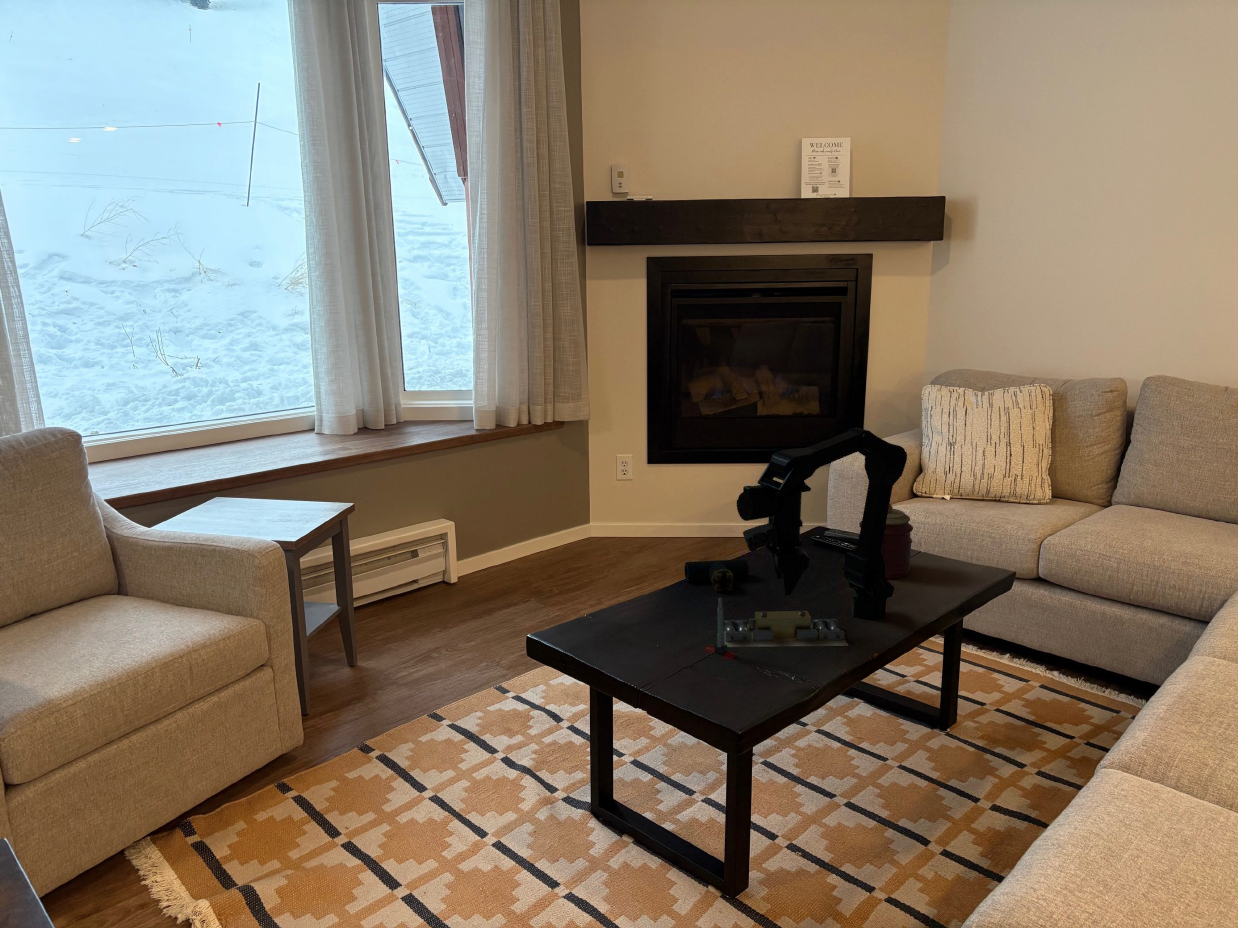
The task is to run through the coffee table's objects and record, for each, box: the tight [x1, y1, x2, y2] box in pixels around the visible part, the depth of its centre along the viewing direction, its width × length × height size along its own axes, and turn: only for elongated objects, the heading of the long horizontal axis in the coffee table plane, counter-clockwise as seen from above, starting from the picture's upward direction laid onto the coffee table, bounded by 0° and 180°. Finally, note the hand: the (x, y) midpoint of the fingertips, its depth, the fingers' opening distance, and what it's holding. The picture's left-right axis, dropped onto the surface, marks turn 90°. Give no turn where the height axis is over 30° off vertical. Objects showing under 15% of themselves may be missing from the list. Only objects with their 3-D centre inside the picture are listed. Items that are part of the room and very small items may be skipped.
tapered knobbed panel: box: [754, 610, 812, 638], centre depth 186 cm, size 11×4×5 cm, turn 91°
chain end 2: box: [796, 618, 846, 641], centre depth 186 cm, size 10×7×2 cm
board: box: [724, 623, 850, 648], centre depth 186 cm, size 25×11×1 cm, turn 90°
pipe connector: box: [684, 558, 749, 592], centre depth 217 cm, size 12×5×15 cm
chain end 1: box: [724, 617, 773, 642], centre depth 186 cm, size 10×7×2 cm
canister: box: [858, 503, 914, 579], centre depth 223 cm, size 13×13×18 cm
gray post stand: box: [705, 597, 738, 660], centre depth 174 cm, size 8×13×9 cm
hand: (783, 586), depth 184 cm, fingers open, 9 cm apart
